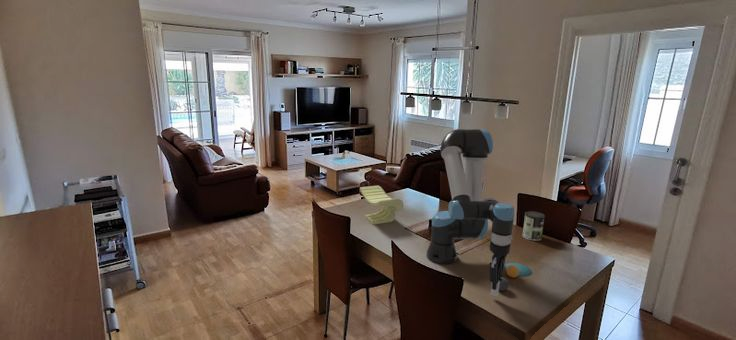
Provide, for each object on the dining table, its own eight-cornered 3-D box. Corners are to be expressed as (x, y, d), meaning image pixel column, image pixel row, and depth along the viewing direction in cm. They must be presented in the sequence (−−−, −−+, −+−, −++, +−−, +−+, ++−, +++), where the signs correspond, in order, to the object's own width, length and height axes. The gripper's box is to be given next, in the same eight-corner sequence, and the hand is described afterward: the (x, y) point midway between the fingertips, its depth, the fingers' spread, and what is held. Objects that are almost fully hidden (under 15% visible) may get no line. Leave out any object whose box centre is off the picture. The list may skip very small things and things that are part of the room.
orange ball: (509, 280, 166) (510, 269, 164) (503, 273, 171) (504, 263, 170) (520, 279, 166) (522, 268, 165) (514, 273, 172) (516, 262, 170)
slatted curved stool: (402, 226, 224) (403, 198, 220) (378, 229, 218) (379, 201, 214) (381, 209, 251) (381, 184, 247) (359, 212, 245) (360, 187, 240)
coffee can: (542, 236, 214) (546, 213, 210) (540, 242, 205) (543, 218, 202) (523, 232, 219) (526, 209, 215) (520, 238, 210) (523, 214, 207)
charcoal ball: (498, 293, 155) (499, 281, 154) (492, 286, 160) (493, 275, 159) (510, 292, 156) (512, 281, 154) (504, 285, 161) (506, 274, 160)
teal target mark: (512, 276, 169) (512, 276, 169) (500, 263, 180) (500, 263, 180) (536, 275, 170) (536, 275, 170) (523, 262, 182) (523, 262, 182)
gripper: (504, 250, 138) (497, 305, 144) (515, 239, 148) (508, 291, 153) (484, 244, 142) (479, 298, 148) (497, 234, 152) (491, 285, 158)
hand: (494, 294), depth 151 cm, fingers closed
